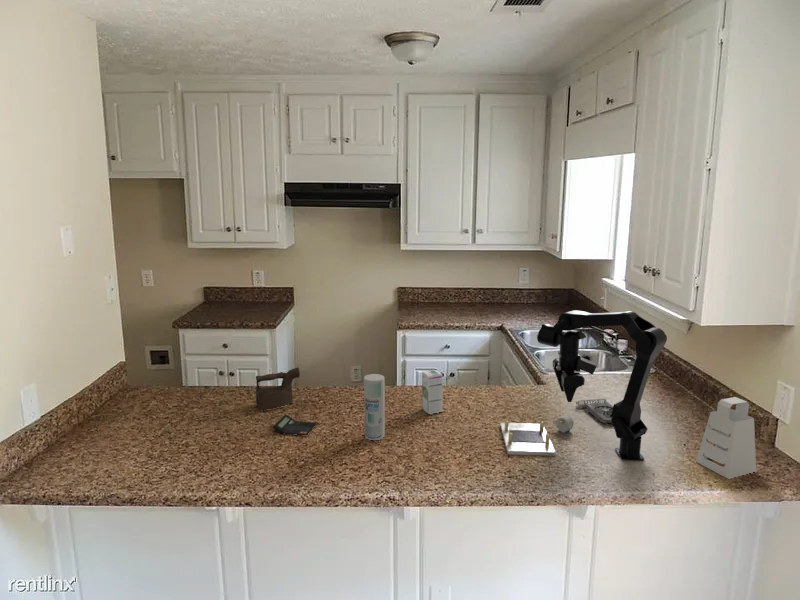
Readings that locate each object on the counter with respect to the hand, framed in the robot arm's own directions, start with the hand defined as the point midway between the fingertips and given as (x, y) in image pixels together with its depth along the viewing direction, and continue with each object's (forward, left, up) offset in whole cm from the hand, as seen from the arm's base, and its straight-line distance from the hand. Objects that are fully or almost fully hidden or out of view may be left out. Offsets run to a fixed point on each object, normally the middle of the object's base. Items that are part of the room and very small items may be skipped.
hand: (566, 396), depth 173 cm
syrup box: (+14, +43, -12) cm, 47 cm away
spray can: (-8, +61, -12) cm, 63 cm away
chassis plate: (-7, +13, -12) cm, 19 cm away
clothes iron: (+15, +100, -12) cm, 102 cm away
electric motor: (0, 0, -12) cm, 12 cm away
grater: (-20, -41, -12) cm, 47 cm away
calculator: (-4, +88, -13) cm, 89 cm away
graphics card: (+14, -16, -13) cm, 24 cm away
